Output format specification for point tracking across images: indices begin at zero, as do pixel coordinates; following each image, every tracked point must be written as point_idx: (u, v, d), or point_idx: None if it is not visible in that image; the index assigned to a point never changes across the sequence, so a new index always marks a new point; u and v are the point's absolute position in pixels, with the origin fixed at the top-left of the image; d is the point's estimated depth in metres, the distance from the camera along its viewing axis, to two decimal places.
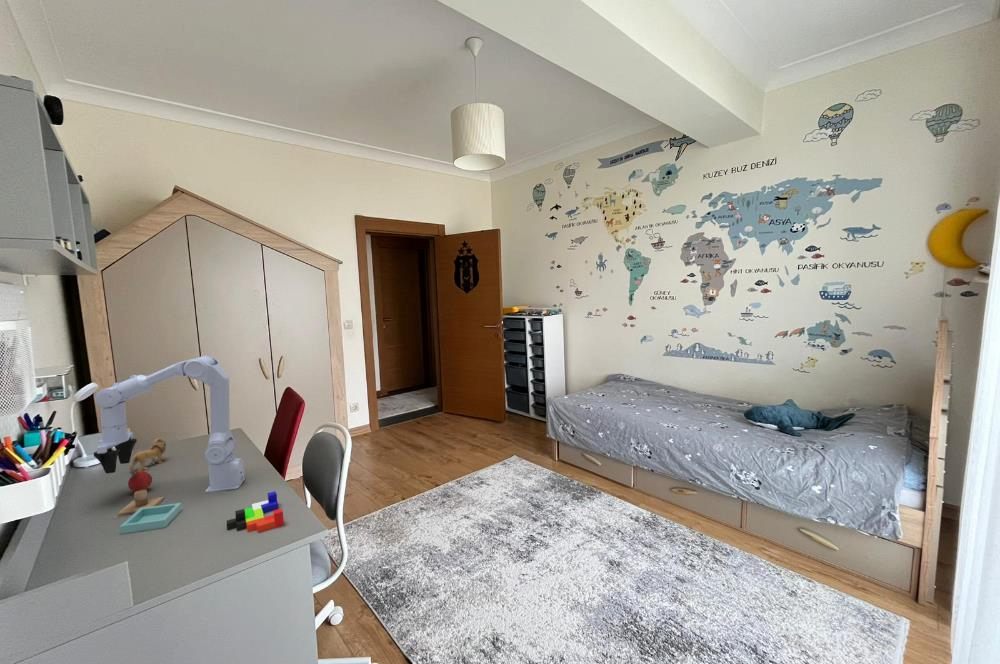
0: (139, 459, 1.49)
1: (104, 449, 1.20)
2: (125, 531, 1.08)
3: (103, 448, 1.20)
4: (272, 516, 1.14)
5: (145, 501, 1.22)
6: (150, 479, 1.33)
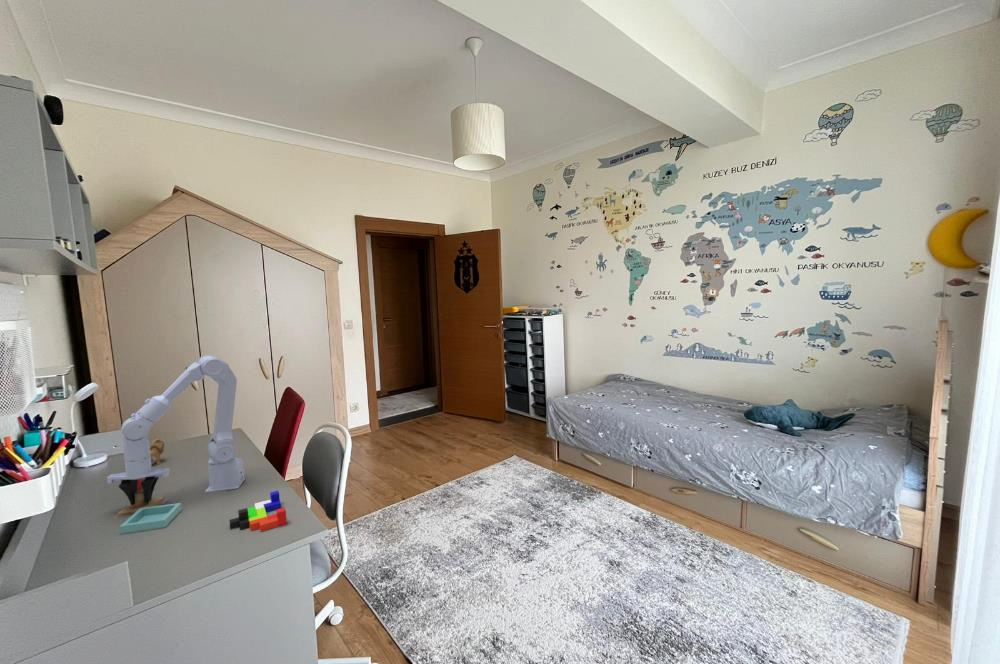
0: None
1: (107, 479, 1.18)
2: (125, 531, 1.08)
3: None
4: (275, 515, 1.14)
5: None
6: None
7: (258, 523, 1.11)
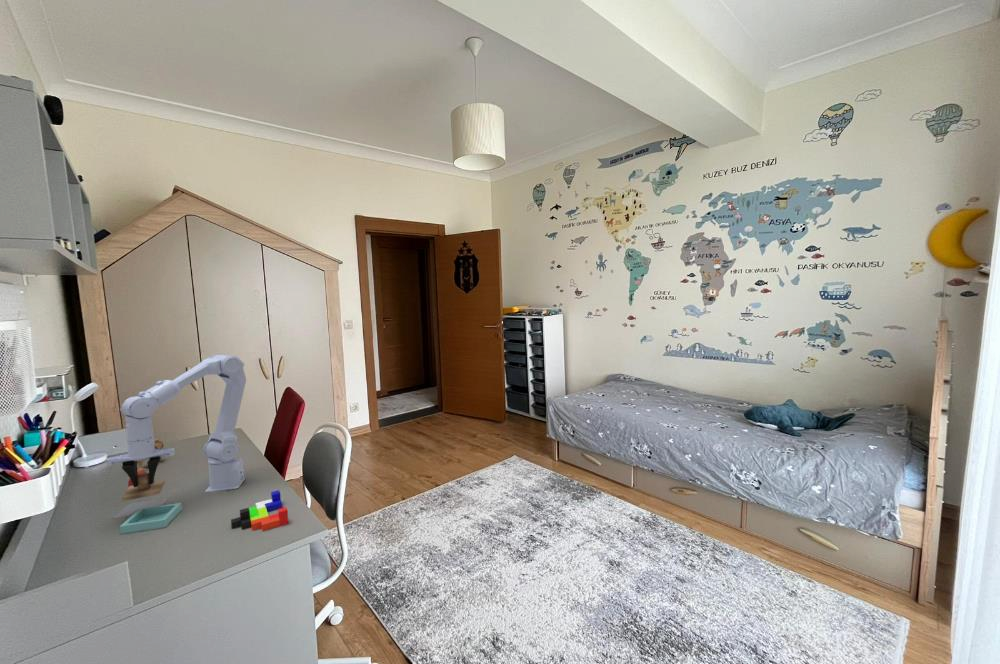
0: None
1: (107, 462, 1.13)
2: (125, 531, 1.08)
3: None
4: (276, 515, 1.14)
5: (149, 484, 1.18)
6: None
7: (260, 523, 1.11)
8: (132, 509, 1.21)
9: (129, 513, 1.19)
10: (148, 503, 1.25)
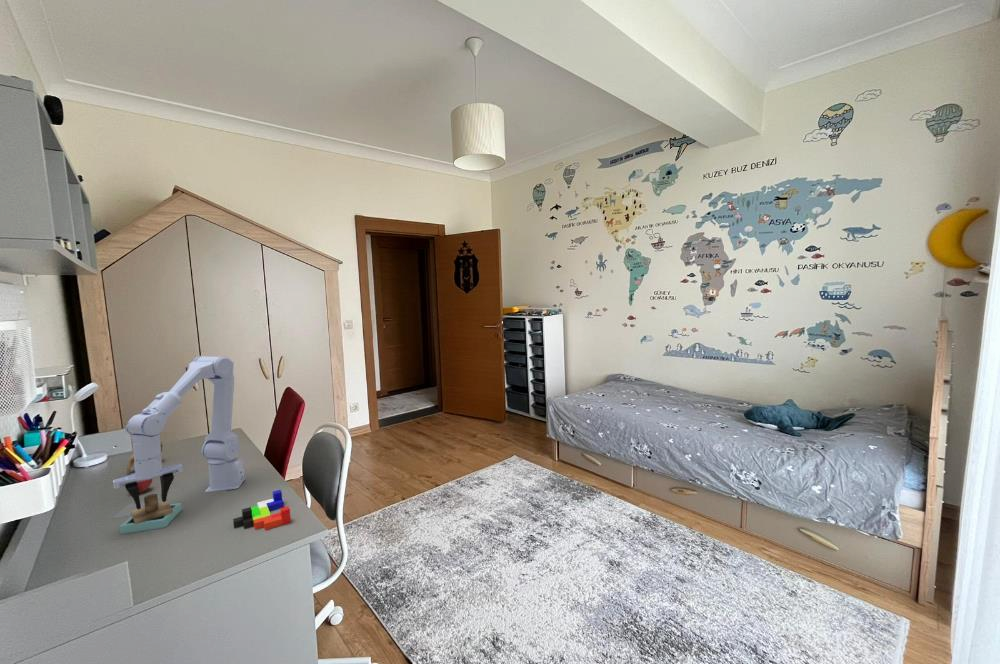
0: None
1: (114, 485, 1.07)
2: (125, 531, 1.08)
3: (113, 483, 1.07)
4: (279, 514, 1.15)
5: (157, 505, 1.15)
6: (150, 479, 1.33)
7: (262, 522, 1.11)
8: (132, 509, 1.21)
9: (129, 513, 1.19)
10: None
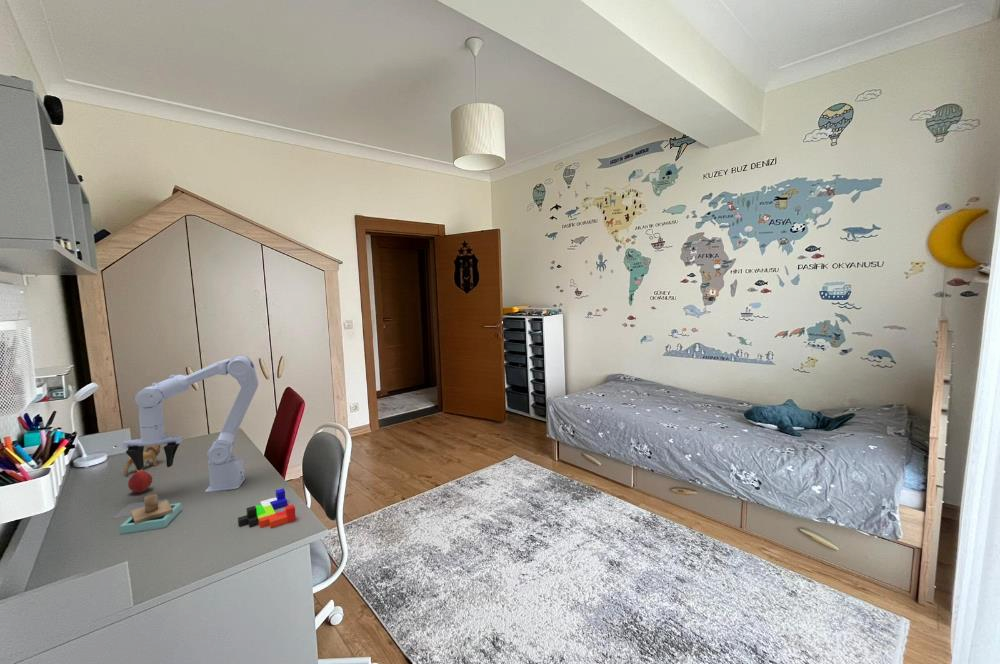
0: None
1: None
2: (125, 531, 1.08)
3: None
4: (283, 512, 1.16)
5: (157, 505, 1.15)
6: (150, 479, 1.33)
7: (267, 520, 1.12)
8: (132, 509, 1.21)
9: (129, 513, 1.19)
10: None
